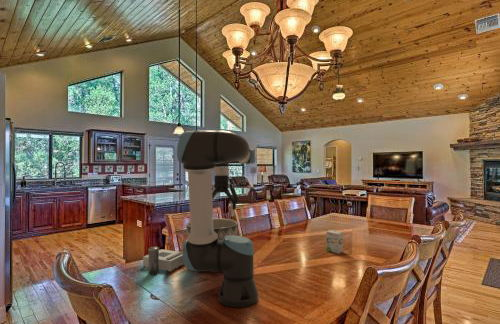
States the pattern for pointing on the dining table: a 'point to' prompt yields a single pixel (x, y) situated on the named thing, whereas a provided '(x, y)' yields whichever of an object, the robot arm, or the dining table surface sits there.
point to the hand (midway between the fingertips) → (221, 214)
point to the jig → (167, 260)
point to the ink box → (334, 241)
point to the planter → (220, 227)
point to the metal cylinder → (153, 260)
